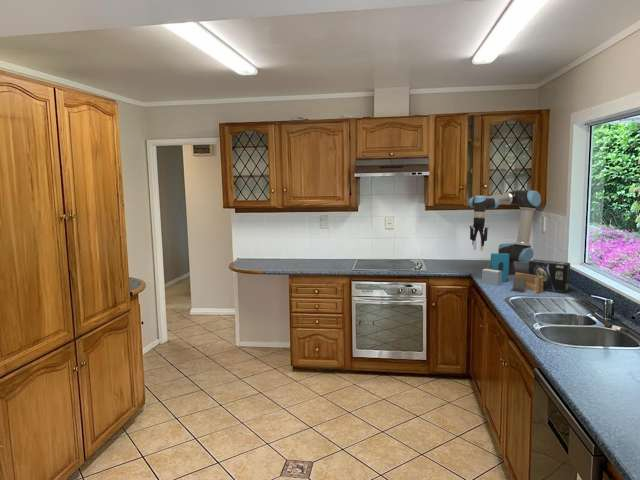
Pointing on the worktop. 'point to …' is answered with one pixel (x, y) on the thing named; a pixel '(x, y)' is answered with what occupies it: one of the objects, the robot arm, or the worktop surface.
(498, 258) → the block
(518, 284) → the bookend
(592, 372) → the worktop surface
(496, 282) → the book
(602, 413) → the worktop surface
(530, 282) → the wooden stepped piece
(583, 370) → the worktop surface
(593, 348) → the worktop surface
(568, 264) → the box
